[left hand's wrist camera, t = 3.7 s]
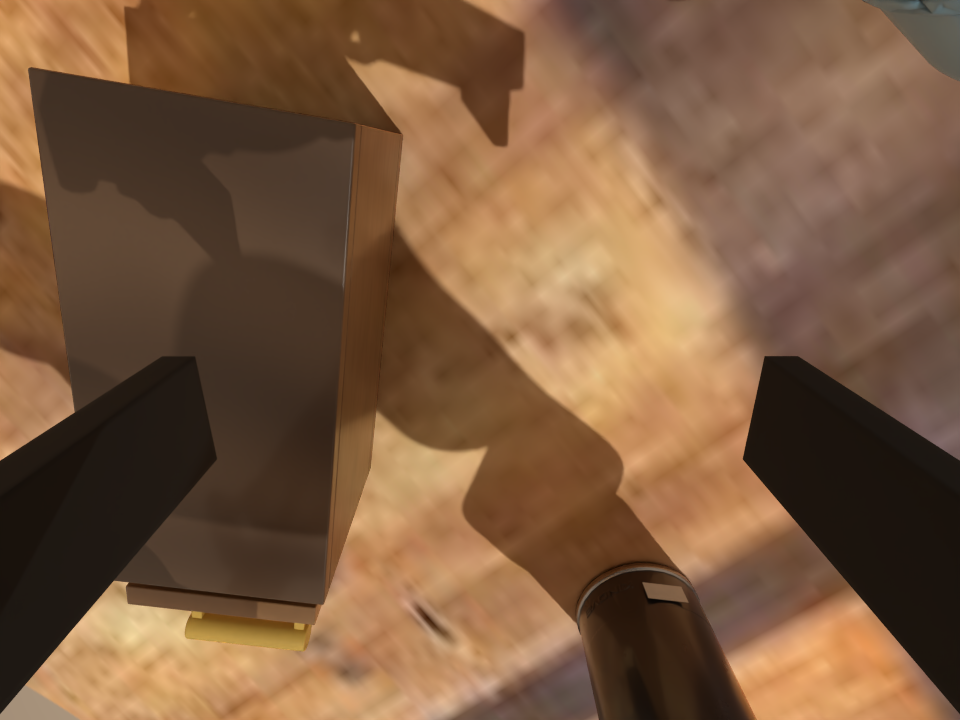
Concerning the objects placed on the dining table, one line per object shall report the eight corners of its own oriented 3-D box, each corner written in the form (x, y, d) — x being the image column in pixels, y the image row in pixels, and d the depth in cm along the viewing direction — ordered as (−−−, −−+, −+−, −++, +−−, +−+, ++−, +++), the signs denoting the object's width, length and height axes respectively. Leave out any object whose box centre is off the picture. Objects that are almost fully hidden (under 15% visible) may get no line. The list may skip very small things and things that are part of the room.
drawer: (350, 571, 39) (309, 704, 29) (219, 555, 38) (136, 685, 29) (382, 205, 29) (338, 229, 20) (209, 176, 29) (80, 188, 19)
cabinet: (370, 468, 36) (323, 606, 25) (214, 447, 36) (96, 579, 25) (403, 134, 29) (355, 123, 18) (204, 100, 28) (26, 66, 17)
